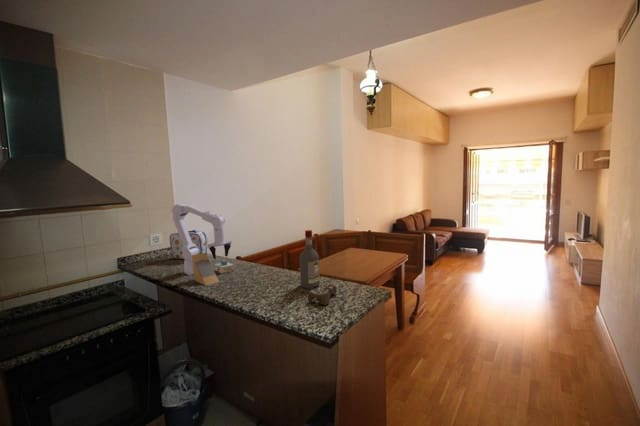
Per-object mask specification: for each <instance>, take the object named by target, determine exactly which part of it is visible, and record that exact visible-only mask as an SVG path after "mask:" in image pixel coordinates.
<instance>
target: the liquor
mask: <svg viewBox="0 0 640 426" xmlns="http://www.w3.org/2000/svg"><path fill="white" fill-rule="evenodd" d="M304 237H305V247H304V250H303V251H302V252H301V253H300V254H299V274H300V276H299V277H300V278H299V279H300V280H299V281H300V286H301V287H302V288H305V287H306V289H314V287H315V288H317V287H319V286H318V285H320V284H321V282H320V281H321V280H320V255H319V253H318V252H317V251H316V250H315V249H314V247H313V230H312V229H311V230H309V229H307V230H305V231H304ZM316 286H317V287H316Z"/></svg>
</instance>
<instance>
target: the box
mask: <svg viewBox="0 0 640 426" xmlns="http://www.w3.org/2000/svg"><path fill="white" fill-rule="evenodd" d="M214 268H215V269H214V272H215V271H216V272H218V273H219V274H220V275H221V274H222V275H224V274H228V273H232V272H235V265H234V266H233V267H228V268H224V269H221V268H219V267H217V266H215V265H214Z"/></svg>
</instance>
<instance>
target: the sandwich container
mask: <svg viewBox="0 0 640 426" xmlns="http://www.w3.org/2000/svg"><path fill="white" fill-rule="evenodd" d="M192 260H193V272H194V274H193V279H194V281H195V282H197V283H198V284H199V283H200V284H201V285H204V286H205V287H206V286H210V285H214V284H216V283H217V284H218V283H219V282H220V281H219V279H218V278H219V277H218V276H217V274H216V272H215V269H214V268H213V266H212V264H211V262H210V260H209V257H208V255H207V254H206V253H202V254H197V255H192Z"/></svg>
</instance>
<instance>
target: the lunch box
mask: <svg viewBox="0 0 640 426" xmlns="http://www.w3.org/2000/svg"><path fill="white" fill-rule="evenodd" d="M187 231H188V233H189V236H190V238H191V241H192V243H194V244H195V245H196V247H197V248H198V249H199V254H202V253H206V255H207V254H208V246H207V244H208V243H209V241H208V238H207V235H206V233H205V232H203V231H200V230H198V231H197V229H193V230H187ZM169 244H170V245H169V246H170V254H171V257H173V259H178V260H185V259H184V258H183V256H182V248H183V244H182V241H181V239H180V236H179V234H178V231H176V232H173V233H171V234H170V235H169Z"/></svg>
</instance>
